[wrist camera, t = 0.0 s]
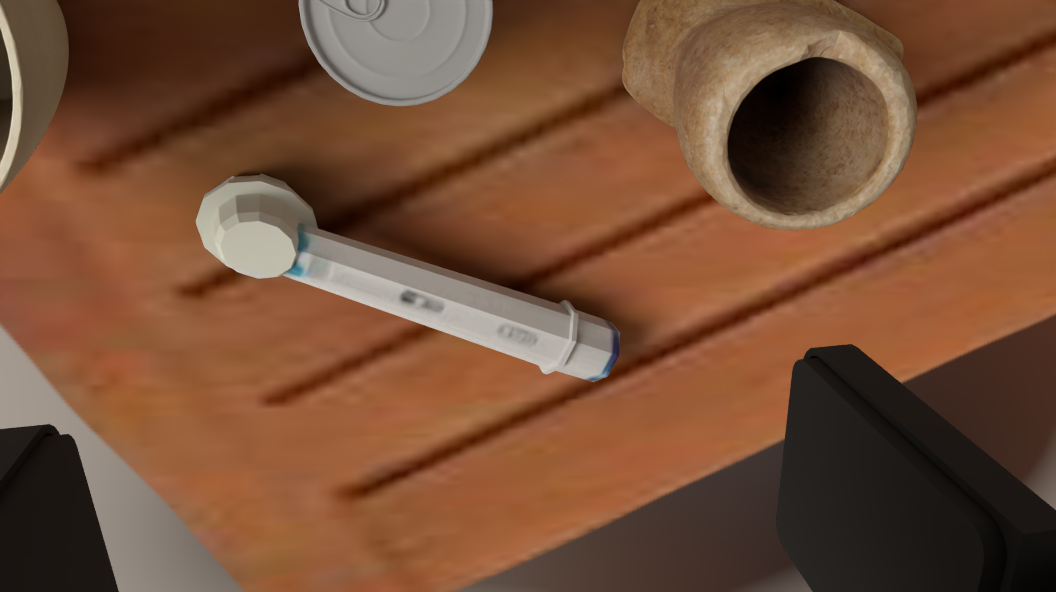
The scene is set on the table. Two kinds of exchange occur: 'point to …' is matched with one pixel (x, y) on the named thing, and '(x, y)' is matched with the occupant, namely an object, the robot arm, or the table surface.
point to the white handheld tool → (397, 280)
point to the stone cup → (776, 103)
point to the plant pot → (29, 77)
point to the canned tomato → (398, 45)
